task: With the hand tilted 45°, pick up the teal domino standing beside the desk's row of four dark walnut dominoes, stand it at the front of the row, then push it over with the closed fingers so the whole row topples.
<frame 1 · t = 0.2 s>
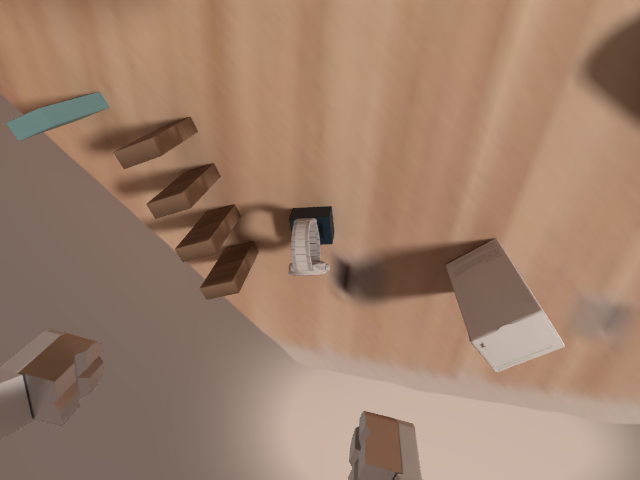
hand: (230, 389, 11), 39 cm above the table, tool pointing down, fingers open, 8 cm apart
skincare box: (479, 263, 53), on the table
walnut domino 3: (202, 174, 50), on the table
walnut domino 2: (178, 130, 47), on the table
walnut domino 4: (223, 214, 53), on the table
watch: (314, 220, 52), on the table
walnut domino 5: (242, 249, 56), on the table
teal domino: (89, 105, 47), on the table
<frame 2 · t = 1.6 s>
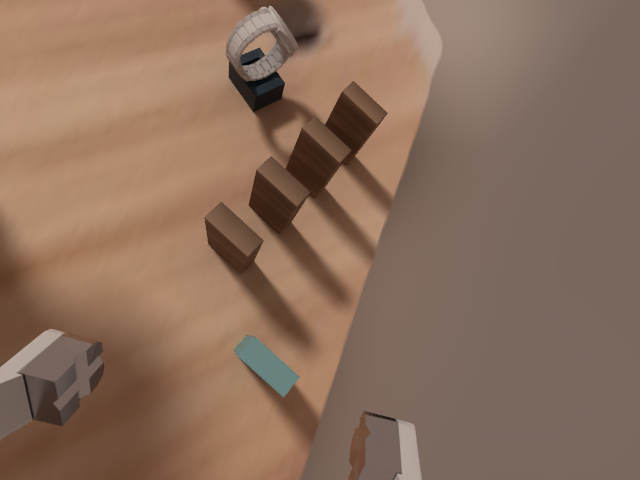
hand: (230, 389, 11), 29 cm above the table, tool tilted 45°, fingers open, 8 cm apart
walnut domino 3: (270, 213, 43), on the table
walnut domino 2: (231, 252, 41), on the table
walnut domino 4: (305, 179, 45), on the table
watch: (255, 88, 47), on the table
walnut domino 5: (336, 147, 47), on the table
teal domino: (257, 358, 39), on the table
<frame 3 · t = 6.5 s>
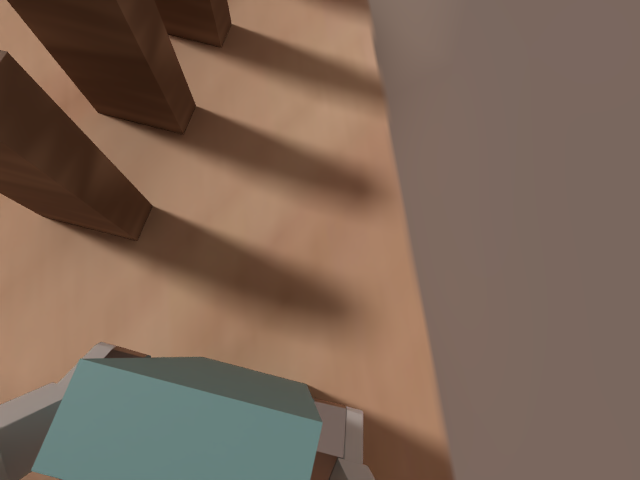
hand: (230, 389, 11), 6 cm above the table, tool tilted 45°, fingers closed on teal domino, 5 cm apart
walnut domino 3: (147, 109, 21), on the table
walnut domino 2: (98, 210, 18), on the table
walnut domino 4: (187, 25, 23), on the table
teal domino: (247, 393, 16), on the table, touching gripper
when the fingers open (7 cm above the table, at t = 12.2 s): teal domino drops 1 cm, on the table.
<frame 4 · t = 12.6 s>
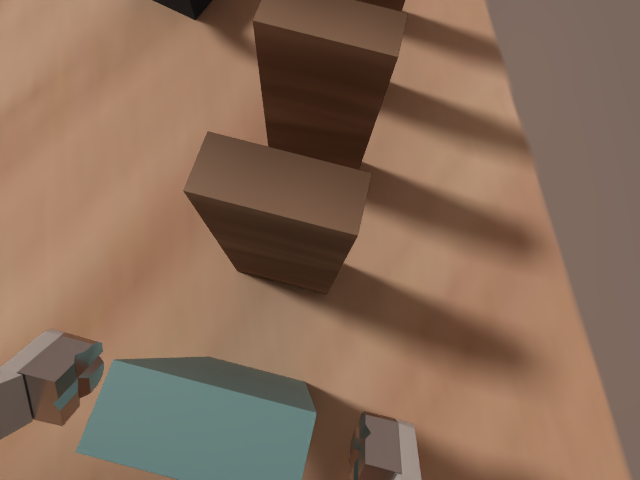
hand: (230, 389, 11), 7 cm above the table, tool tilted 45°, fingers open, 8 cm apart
walnut domino 3: (315, 164, 22), on the table
walnut domino 2: (286, 265, 20), on the table
walnut domino 4: (339, 80, 24), on the table
teal domino: (250, 390, 18), on the table
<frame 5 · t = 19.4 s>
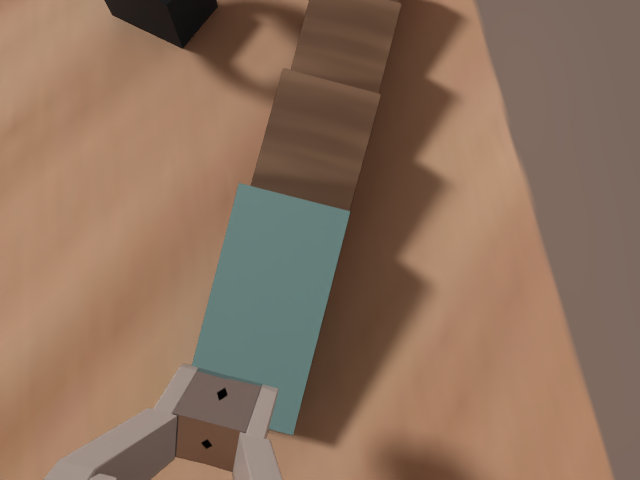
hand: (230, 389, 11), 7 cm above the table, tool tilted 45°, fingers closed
walnut domino 3: (312, 170, 21), point 1 cm above the table, tilted 73°, touching walnut domino 2, walnut domino 4
walnut domino 2: (280, 275, 19), point 1 cm above the table, tilted 72°, touching teal domino, walnut domino 3
watch: (167, 12, 25), on the table
teal domino: (242, 410, 17), point 1 cm above the table, tilted 72°, touching walnut domino 2
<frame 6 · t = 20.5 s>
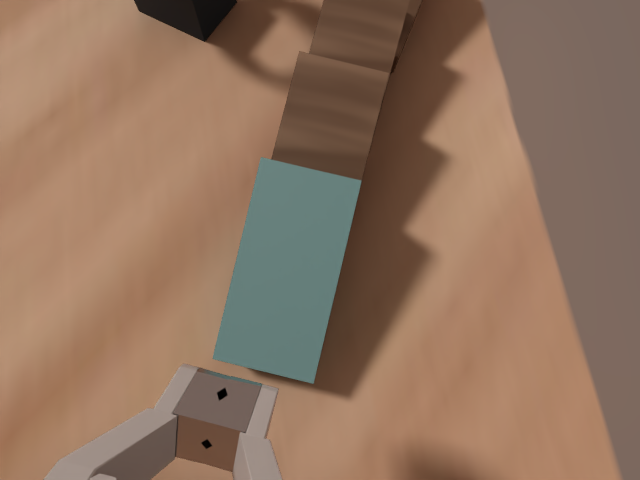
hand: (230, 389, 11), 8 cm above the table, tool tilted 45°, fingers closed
walnut domino 3: (329, 143, 22), point 1 cm above the table, tilted 74°, touching walnut domino 2, walnut domino 4
walnut domino 2: (299, 241, 20), point 1 cm above the table, tilted 73°, touching teal domino, walnut domino 3
walnut domino 4: (361, 51, 25), point 1 cm above the table, tilted 74°, touching walnut domino 3
watch: (189, 8, 27), on the table
teal domino: (266, 364, 18), point 1 cm above the table, tilted 73°, touching walnut domino 2
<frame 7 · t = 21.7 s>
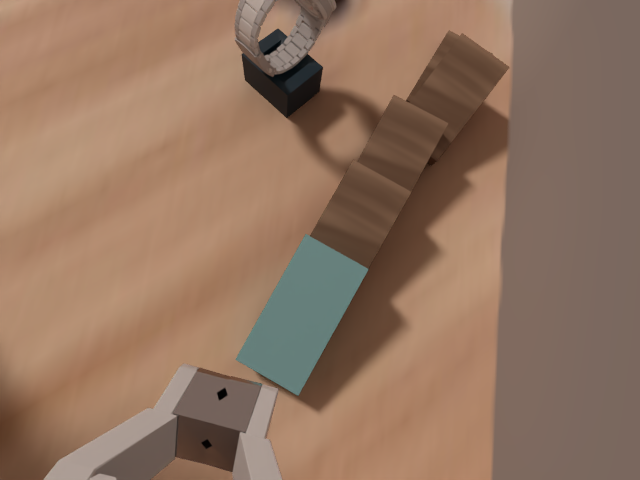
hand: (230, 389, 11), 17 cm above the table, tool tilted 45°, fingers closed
walnut domino 3: (361, 217, 30), point 1 cm above the table, tilted 74°
walnut domino 2: (317, 290, 28), point 1 cm above the table, tilted 74°, touching teal domino
walnut domino 4: (411, 146, 32), point 1 cm above the table, tilted 71°, touching walnut domino 5
watch: (282, 86, 34), on the table
walnut domino 5: (426, 119, 34), on the table, tilted 90°, touching walnut domino 4
teal domino: (269, 372, 26), point 1 cm above the table, tilted 73°, touching walnut domino 2
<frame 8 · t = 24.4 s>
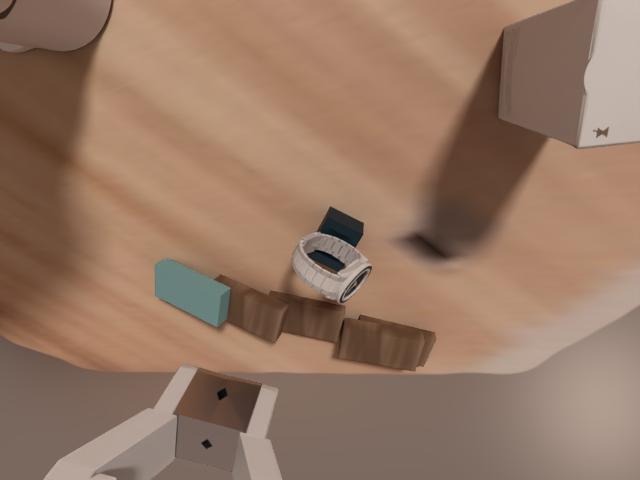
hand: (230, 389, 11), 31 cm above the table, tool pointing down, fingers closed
skincare box: (532, 68, 33), on the table
walnut domino 3: (268, 307, 48), on the table, tilted 90°, touching walnut domino 2
walnut domino 2: (213, 293, 47), point 1 cm above the table, tilted 79°, touching teal domino, walnut domino 3
walnut domino 4: (341, 337, 46), point 2 cm above the table, tilted 90°, touching walnut domino 5
watch: (337, 233, 43), on the table
walnut domino 5: (355, 330, 48), on the table, tilted 90°, touching walnut domino 4
teal domino: (160, 276, 47), point 1 cm above the table, tilted 74°, touching walnut domino 2
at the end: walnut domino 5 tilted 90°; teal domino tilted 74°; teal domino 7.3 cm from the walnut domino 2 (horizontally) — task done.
